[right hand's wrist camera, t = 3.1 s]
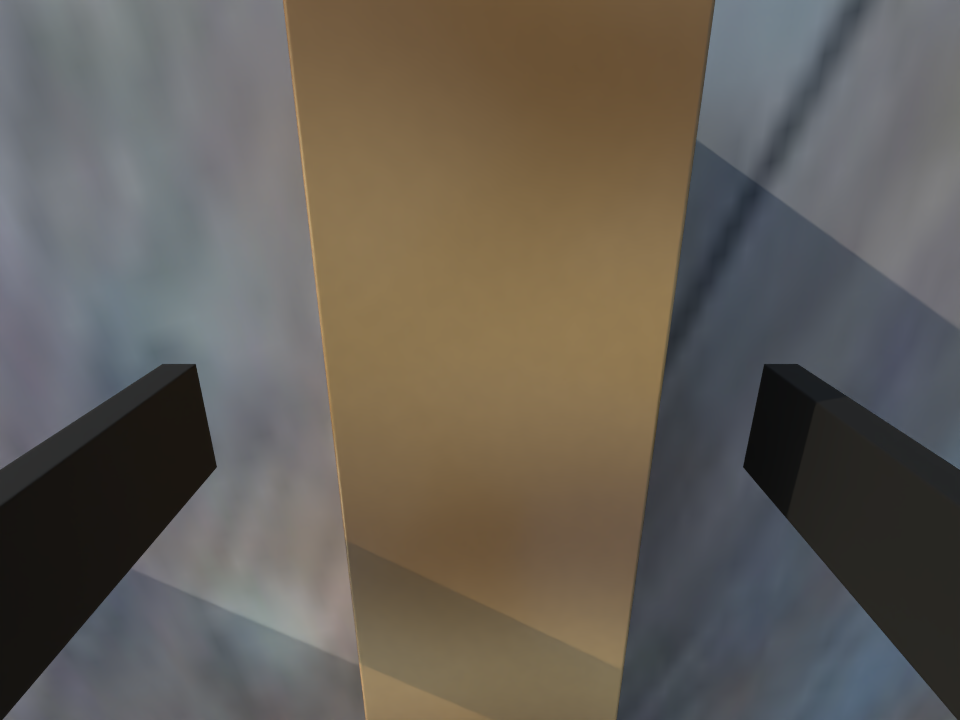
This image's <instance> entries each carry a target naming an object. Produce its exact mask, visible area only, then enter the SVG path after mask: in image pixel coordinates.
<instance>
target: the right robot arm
mask: <svg viewBox="0 0 960 720" xmlns="http://www.w3.org/2000/svg"><path fill="white" fill-rule="evenodd" d="M216 468H217V465H216V461H215V456H214V451H213V446H212V441H211V436H210V431H209V427H208V422H207V417H206V412H205V407H204V402H203V397H202V392H201V388H200V383H199V378H198V373H197V368H196V364H162V365H160V366H159V367H157V368H156V369H154V370H153V371H151V372H150V373H148V374H147V375H145V376H144V377H142V378H140V379H139V380H137V381H136V382H134V383H133V384H131V385H130V386H128V387H127V388H125V389H124V390H122V391H121V392H119V393H117V394H116V395H114V396H113V397H111V398H110V399H108V400H107V401H105V402H104V403H102V404H101V405H99V406H98V407H96V408H94V409H93V410H91V411H90V412H88V413H87V414H85V415H84V416H82V417H81V418H79V419H78V420H76V421H75V422H73V423H71V424H70V425H68V426H67V427H65V428H64V429H62V430H61V431H59V432H58V433H56V434H55V435H53V436H52V437H50V438H48V439H47V440H45V441H44V442H42V443H41V444H39V445H38V446H36V447H35V448H33V449H32V450H30V451H29V452H27V453H25V454H24V455H22V456H21V457H19V458H18V459H16V460H15V461H13V462H12V463H10V464H9V465H7V466H6V467H4V468H2V469H1V470H0V720H3V718H4V717H5V716H6V715H7V714H8V713H9V711H10V710H11V709H12V708H13V707H14V705H15V704H16V703H17V702H18V701H19V700H20V698H21V697H22V696H23V695H24V694H25V692H26V691H27V690H28V689H29V688H30V687H31V685H32V684H33V683H34V682H35V681H36V680H37V678H38V677H39V676H40V675H41V674H42V672H43V671H44V670H45V669H46V668H47V667H48V665H49V664H50V663H51V662H52V661H53V660H54V658H55V657H56V656H57V655H58V654H59V652H60V651H61V650H62V649H63V648H64V647H65V645H66V644H67V643H68V642H69V641H70V639H71V638H72V637H73V636H74V635H75V634H76V632H77V631H78V630H79V629H80V628H81V627H82V625H83V624H84V623H85V622H86V621H87V619H88V618H89V617H90V616H91V615H92V614H93V612H94V611H95V610H96V609H97V608H98V606H99V605H100V604H101V603H102V602H103V601H104V599H105V598H106V597H107V596H108V595H109V594H110V592H111V591H112V590H113V589H114V588H115V586H116V585H117V584H118V583H119V582H120V581H121V579H122V578H123V577H124V576H125V575H126V574H127V572H128V571H129V570H130V569H131V568H132V566H133V565H134V564H135V563H136V562H137V561H138V559H139V558H140V557H141V556H142V555H143V553H144V552H145V551H146V550H147V549H148V548H149V546H150V545H151V544H152V543H153V542H154V541H155V539H156V538H157V537H158V536H159V535H160V533H161V532H162V531H163V530H164V529H165V528H166V526H167V525H168V524H169V523H170V522H171V521H172V519H173V518H174V517H175V516H176V515H177V513H178V512H179V511H180V510H181V509H182V508H183V506H184V505H185V504H186V503H187V502H188V500H189V499H190V498H191V497H192V496H193V495H194V493H195V492H196V491H197V490H198V489H199V488H200V486H201V485H202V484H203V483H204V482H205V480H206V479H207V478H208V477H209V476H210V475H211V473H212V472H213V471H214V470H215V469H216ZM743 468H744V469H745V470H746V471H747V472H748V473H749V475H750V476H751V477H752V478H753V479H754V480H755V482H756V483H757V484H758V485H759V486H760V488H761V489H762V490H763V491H764V492H765V493H766V495H767V496H768V497H769V498H770V499H771V500H772V502H773V503H774V504H775V505H776V506H777V508H778V509H779V510H780V511H781V512H782V513H783V515H784V516H785V517H786V518H787V519H788V521H789V522H790V523H791V524H792V525H793V526H794V528H795V529H796V530H797V531H798V532H799V533H800V535H801V536H802V537H803V538H804V539H805V541H806V542H807V543H808V544H809V545H810V546H811V548H812V549H813V550H814V551H815V552H816V554H817V555H818V556H819V557H820V558H821V559H822V561H823V562H824V563H825V564H826V565H827V566H828V568H829V569H830V570H831V571H832V572H833V574H834V575H835V576H836V577H837V578H838V579H839V581H840V582H841V583H842V584H843V585H844V586H845V588H846V589H847V590H848V591H849V592H850V594H851V595H852V596H853V597H854V598H855V599H856V601H857V602H858V603H859V604H860V605H861V607H862V608H863V609H864V610H865V611H866V612H867V614H868V615H869V616H870V617H871V618H872V619H873V621H874V622H875V623H876V624H877V625H878V627H879V628H880V629H881V630H882V631H883V632H884V634H885V635H886V636H887V637H888V638H889V639H890V641H891V642H892V643H893V644H894V645H895V647H896V648H897V649H898V650H899V651H900V652H901V654H902V655H903V656H904V657H905V658H906V660H907V661H908V662H909V663H910V664H911V665H912V667H913V668H914V669H915V670H916V671H917V672H918V674H919V675H920V676H921V677H922V678H923V680H924V681H925V682H926V683H927V684H928V685H929V687H930V688H931V689H932V690H933V691H934V692H935V694H936V695H937V696H938V697H939V698H940V700H941V701H942V702H943V703H944V704H945V705H946V707H947V708H948V709H949V710H950V711H951V713H952V714H953V715H954V716H955V717H956V718H957V720H960V470H959V469H958V468H956V467H954V466H953V465H951V464H950V463H948V462H947V461H945V460H944V459H942V458H941V457H939V456H938V455H936V454H935V453H933V452H931V451H930V450H928V449H927V448H925V447H924V446H922V445H921V444H919V443H918V442H916V441H915V440H913V439H912V438H910V437H908V436H907V435H905V434H904V433H902V432H901V431H899V430H898V429H896V428H895V427H893V426H892V425H890V424H889V423H887V422H885V421H884V420H882V419H881V418H879V417H878V416H876V415H875V414H873V413H872V412H870V411H869V410H867V409H866V408H864V407H862V406H861V405H859V404H858V403H856V402H855V401H853V400H852V399H850V398H849V397H847V396H846V395H844V394H843V393H841V392H839V391H838V390H836V389H835V388H833V387H832V386H830V385H829V384H827V383H826V382H824V381H823V380H821V379H820V378H818V377H816V376H815V375H813V374H812V373H810V372H809V371H807V370H806V369H804V368H803V367H801V366H800V365H798V364H764V368H763V373H762V378H761V383H760V388H759V392H758V397H757V402H756V407H755V412H754V417H753V422H752V426H751V431H750V436H749V441H748V446H747V451H746V456H745V461H744V465H743Z"/></svg>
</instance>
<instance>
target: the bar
mask: <svg viewBox="0 0 960 720" xmlns="http://www.w3.org/2000/svg"><path fill="white" fill-rule="evenodd" d="M283 5H284V14H285V22H286V31H287V40H288V48H289V57H290V66H291V74H292V83H293V92H294V101H295V109H296V118H297V127H298V135H299V144H300V153H301V161H302V170H303V179H304V187H305V196H306V205H307V214H308V222H309V231H310V240H311V248H312V257H313V266H314V274H315V283H316V292H317V300H318V309H319V318H320V327H321V335H322V344H323V353H324V361H325V370H326V379H327V387H328V396H329V405H330V413H331V422H332V431H333V440H334V448H335V457H336V466H337V474H338V483H339V492H340V500H341V509H342V518H343V526H344V535H345V544H346V553H347V561H348V570H349V579H350V587H351V596H352V605H353V613H354V622H355V631H356V639H357V648H358V657H359V666H360V674H361V683H362V692H363V700H364V709H365V718H366V720H616V719H617V712H618V705H619V698H620V690H621V683H622V676H623V668H624V661H625V654H626V647H627V639H628V632H629V625H630V617H631V610H632V603H633V596H634V588H635V581H636V574H637V566H638V559H639V552H640V545H641V537H642V530H643V523H644V515H645V508H646V501H647V494H648V486H649V479H650V472H651V464H652V457H653V450H654V443H655V435H656V428H657V421H658V413H659V406H660V399H661V392H662V384H663V377H664V370H665V362H666V355H667V348H668V341H669V333H670V326H671V319H672V311H673V304H674V297H675V290H676V282H677V275H678V268H679V260H680V253H681V246H682V239H683V231H684V224H685V217H686V209H687V202H688V195H689V188H690V180H691V173H692V166H693V158H694V151H695V144H696V137H697V129H698V122H699V115H700V107H701V100H702V93H703V86H704V78H705V71H706V64H707V56H708V49H709V42H710V35H711V27H712V20H713V13H714V5H715V0H283Z"/></svg>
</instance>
